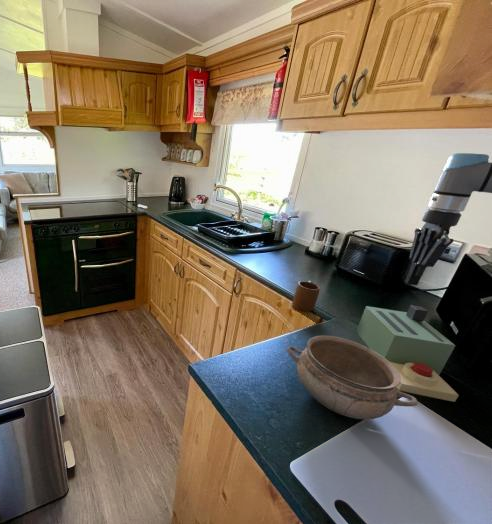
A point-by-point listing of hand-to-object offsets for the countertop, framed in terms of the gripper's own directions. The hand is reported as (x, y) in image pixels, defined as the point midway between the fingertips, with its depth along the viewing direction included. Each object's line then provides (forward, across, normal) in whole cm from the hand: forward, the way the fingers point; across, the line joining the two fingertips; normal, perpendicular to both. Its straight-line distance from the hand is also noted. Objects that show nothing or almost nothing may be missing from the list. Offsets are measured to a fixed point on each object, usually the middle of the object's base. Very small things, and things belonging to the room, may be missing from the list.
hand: (410, 283), depth 92 cm
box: (+19, +26, -6) cm, 33 cm away
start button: (+15, +26, -6) cm, 31 cm away
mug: (+19, -11, -24) cm, 33 cm away
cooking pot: (+19, +40, -30) cm, 53 cm away
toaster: (+19, +12, -4) cm, 22 cm away
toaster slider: (+9, +7, 0) cm, 11 cm away
